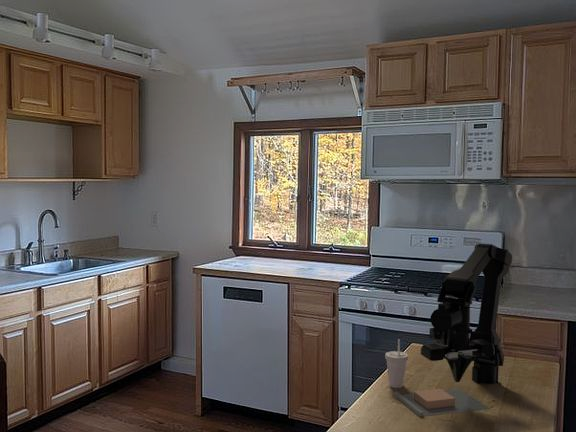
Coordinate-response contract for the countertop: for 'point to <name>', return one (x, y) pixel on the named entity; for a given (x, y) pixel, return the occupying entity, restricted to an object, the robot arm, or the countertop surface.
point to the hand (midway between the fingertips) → (457, 381)
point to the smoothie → (396, 367)
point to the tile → (434, 398)
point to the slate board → (461, 405)
